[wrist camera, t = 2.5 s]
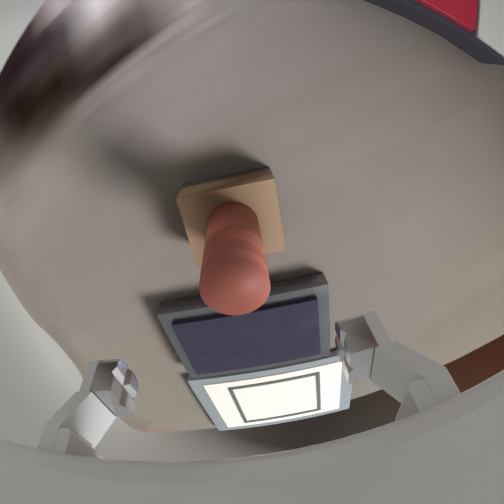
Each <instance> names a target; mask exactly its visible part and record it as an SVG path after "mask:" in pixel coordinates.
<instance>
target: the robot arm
mask: <svg viewBox="0 0 504 504" xmlns="http://www.w3.org/2000/svg"><path fill="white" fill-rule="evenodd" d="M335 330H336V333H337V336H336V337H335V344H336V350H337V354H338V357H339V360H340V361H341V362H342V363H343V371H344V374H345V377H346V379H347V382H348V384H351V383H354V382H358V381H362V380H366V379H369V378H370V380H371V381H373V382H374V383H375V384H377V385H378V386H379V387H381V388H382V389H383V390H384V391H386V392H387V393H388V394H390V395H391V396H392V397H394V398H395V399H396V400H398V401H399V402H400V403H402V404H401V407H400V409H399V411H398V414H397V416H396V418H395V419H396V421H395V422H392V423H389V424H387V425H384V426H380V427H377V428H374V429H371V430H369V431H365V432H362V433H359V434H355V435H352V436H348V437H344V438H341V439H338V440H333V441H329V442H325V443H321V444H317V445H312V446H308V447H303V448H298V449H293V450H288V451H282V452H276V453H270V454H263V455H257V456H249V457H240V458H232V459H220V460H207V461H184V462H147V461H126V460H112V459H103V456H102V454H101V453H99V452H98V451H97V450H95V449H94V448H95V447H96V445H97V444H98V442H99V441H100V440H101V438H102V437H103V435H104V434H105V432H106V431H107V429H108V428H109V427H110V425H111V424H112V422H113V421H114V420H115V418H116V417H115V416H133V414H134V408H135V403H136V402H135V400H134V399H133V397H134V396H135V395H136V394H137V391H138V381H137V378H136V376H135V374H134V373H133V372H132V371H131V370H129V369H127V363H126V362H125V361H124V359H116V360H100V361H91V362H90V363H89V364H88V366H87V369H86V372H85V375H84V378H83V381H82V385H81V388H80V391H79V392H76V393H75V394H74V395H73V396H72V397H71V398H70V399H69V400H68V401H67V402H66V403H65V404H64V405H63V406H62V407H61V408H60V409H59V410H58V411H57V412H56V413H55V414H54V415H53V416H52V417H51V418H50V420H48V421H47V422H46V424H45V425H44V428H43V431H42V434H41V438H40V441H39V445H38V448H34V447H30V446H26V445H22V444H18V443H14V442H10V441H7V440H4V439H0V504H504V370H502V371H501V372H499V373H497V374H496V375H494V376H492V377H490V378H489V379H487V380H485V381H483V382H481V383H480V384H478V385H476V386H474V387H472V388H470V389H469V390H466V391H464V392H462V393H460V391H459V390H458V388H457V386H456V384H455V383H454V381H453V379H452V377H451V375H450V374H449V372H448V370H447V369H446V367H444V366H442V365H440V364H438V363H437V362H435V361H433V360H431V359H429V358H427V357H425V356H423V355H422V354H420V353H418V352H416V351H414V350H412V349H410V348H408V347H407V346H405V345H403V344H401V343H399V342H397V341H395V342H392V340H391V338H390V336H389V334H388V333H387V331H386V329H385V327H384V325H383V324H382V322H381V320H380V318H379V317H378V315H377V313H376V312H370V313H367V314H363V315H359V316H356V317H352V318H348V319H345V320H341V321H337V322H336V323H335Z"/></svg>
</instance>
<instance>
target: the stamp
mask: <svg viewBox="0 0 504 504" xmlns="http://www.w3.org/2000/svg"><path fill="white" fill-rule="evenodd" d="M176 201H177V204H178V208H179V211H180V214H181V217H182V221H183V224H184V227H185V230H186V233H187V236H188V239H189V242H190V245H191V249H192V252H193V255H194V258H195V261H196V264H197V267H201V266H202V267H201V274H200V282H199V292H200V295H201V297H202V299H203V301H204V302H205V303H206V304H207V305H208V306H209V307H210V308H211V309H213V310H215V311H217V312H219V313H222V314H226V315H243V314H247V313H250V312H252V311H254V310H256V309H258V308H259V307H260V306H262V305H263V304H264V302H265V301H266V300H267V298H268V296H269V294H270V288H271V285H270V279H269V273H268V268H267V263H266V257H265V254H269V253H274V252H279V251H284V250H286V248H285V242H284V235H283V229H282V222H281V216H280V210H279V204H278V198H277V192H276V186H275V180H274V177H273V175H272V172H271V170H270V168H269V167H264V168H259V169H254V170H249V171H244V172H239V173H234V174H229V175H224V176H220V177H215V178H210V179H206V180H202V181H197V182H193V183H189V184H185V185H182V187H181V189H180V192H179V194H178V196H177V198H176Z"/></svg>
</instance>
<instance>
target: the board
mask: <svg viewBox="0 0 504 504" xmlns="http://www.w3.org/2000/svg"><path fill="white" fill-rule="evenodd" d="M187 382H188V383H189V385H190V387H191V388H192V390H193V391H194V393H195V395H196V396H197V398H198V399H199V401H200V403H201V404H202V406H203V407H204V409H205V410H206V412H207V413H208V415H209V416H210V418H211V419H212V421H213V422H214V424H215V425H216V427H217V428H218V430H219V431H223V430H232V429H242V428H250V427H258V426H265V425H271V424H278V423H283V422H289V421H295V420H300V419H305V418H310V417H315V416H319V415H323V414H328V413H332V412H337V411H340V410H344V409H348V408H349V405H350V398H351V390H352V383H351V384H348V382H347V379H346V377H345V374H344V371H343V363H342V362H341V361H340V360H339V357H338V354H337V350H334V351H330V355H328V356H324V357H319V358H315V359H310V360H305V361H300V362H295V363H290V364H285V365H280V366H274V367H269V368H263V369H257V370H251V371H244V372H237V373H230V374H223V375H215V376H207V377H198V378H191V377H190V376H189V375H188V377H187Z"/></svg>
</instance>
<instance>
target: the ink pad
mask: <svg viewBox="0 0 504 504" xmlns="http://www.w3.org/2000/svg"><path fill="white" fill-rule="evenodd" d="M270 285H271V288H270V294H269V296H268V298H267V300H266V301H265V302H264V304H263V305H262V306H260V307H259V308H258V309H256V310H254V311H252V312H250V313H247V314H243V315H226V314H222V313H219V312H217V311H215V310H213V309H211V308H210V307H209V306H208V305H207V304H206V303H205V302H204V301H203V299H202V297H201V296H197V297H191V298H185V299H179V300H173V301H167V302H161V303H160V305H159V308H158V312H157V316H158V318H159V320H160V322H161V324H162V326H163V328H164V330H165V332H166V334H167V336H168V338H169V340H170V342H171V343H172V345H173V347H174V349H175V351H176V353H177V355H178V356H179V358H180V360H181V362H182V364H183V365H184V367H185V369H186V371H187V372H188V374H189V376H190V377H191V378H198V377H207V376H215V375H223V374H230V373H237V372H244V371H251V370H257V369H263V368H269V367H274V366H280V365H285V364H290V363H295V362H300V361H305V360H310V359H315V358H319V357H324V356H328V355H330V323H329V293H328V283H327V280H326V278H325V276H324V274H323V273H318V274H313V275H308V276H303V277H298V278H293V279H288V280H283V281H278V282H273V283H270Z"/></svg>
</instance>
